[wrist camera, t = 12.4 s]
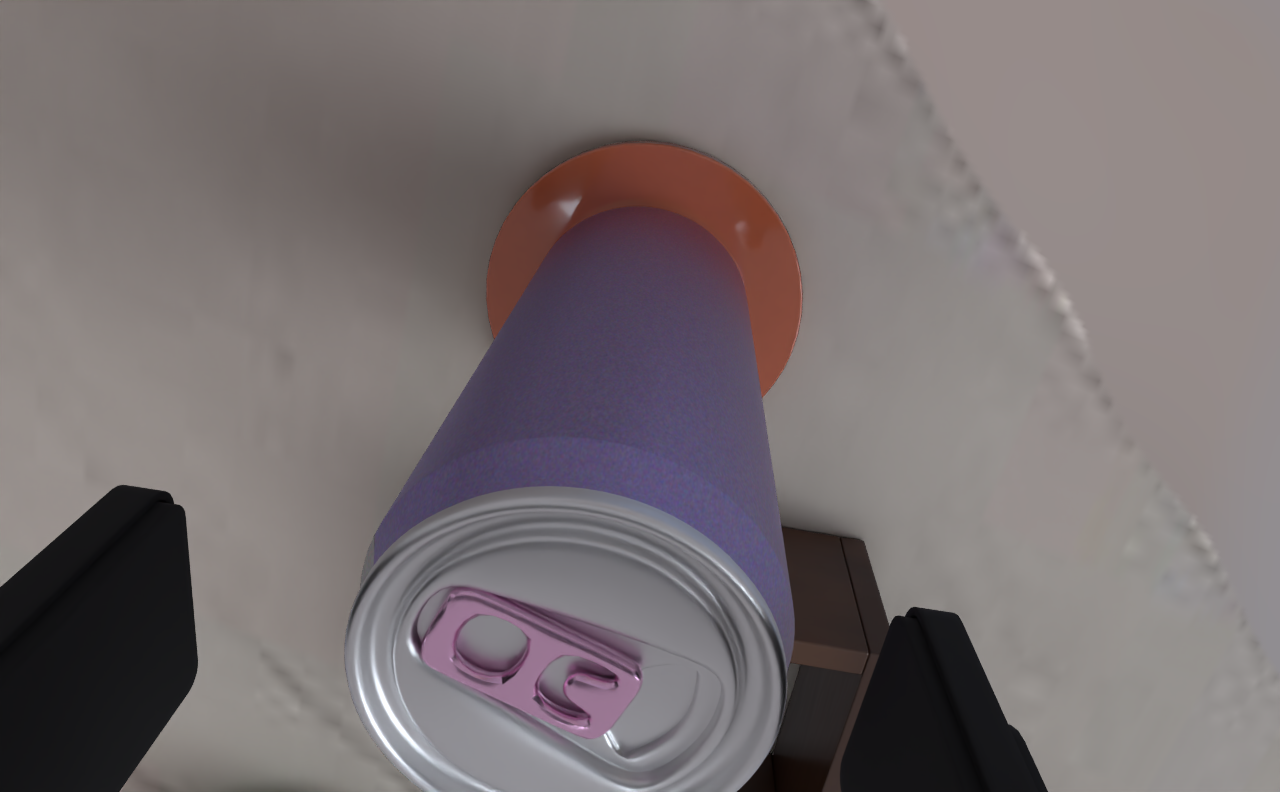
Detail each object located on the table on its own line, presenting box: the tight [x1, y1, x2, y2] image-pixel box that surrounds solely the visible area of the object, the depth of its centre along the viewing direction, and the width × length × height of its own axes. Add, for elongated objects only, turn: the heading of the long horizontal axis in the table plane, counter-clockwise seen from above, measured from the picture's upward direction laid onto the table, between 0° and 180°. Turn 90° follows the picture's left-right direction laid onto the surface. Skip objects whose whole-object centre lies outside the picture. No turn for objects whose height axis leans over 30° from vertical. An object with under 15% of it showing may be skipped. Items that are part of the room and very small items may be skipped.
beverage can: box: [344, 207, 795, 792], centre depth 17 cm, size 6×6×15 cm
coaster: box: [486, 141, 803, 397], centre depth 25 cm, size 9×9×1 cm
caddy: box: [737, 527, 890, 792], centre depth 27 cm, size 11×11×6 cm
